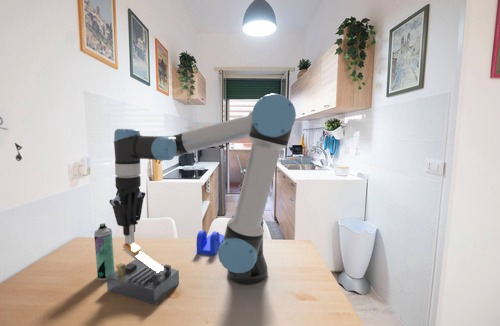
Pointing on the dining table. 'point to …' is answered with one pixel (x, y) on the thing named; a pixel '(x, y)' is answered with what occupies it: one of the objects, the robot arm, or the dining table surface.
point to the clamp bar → (143, 258)
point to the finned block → (142, 282)
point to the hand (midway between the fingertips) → (129, 242)
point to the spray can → (104, 252)
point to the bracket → (208, 242)
